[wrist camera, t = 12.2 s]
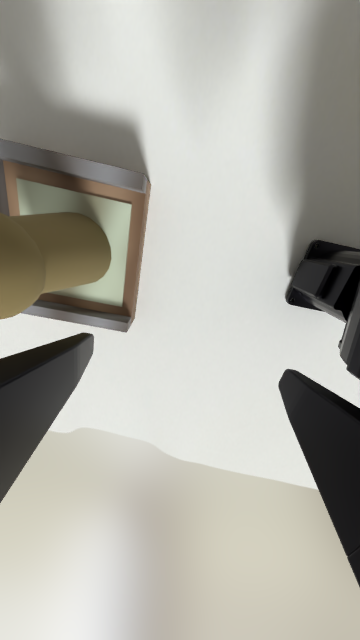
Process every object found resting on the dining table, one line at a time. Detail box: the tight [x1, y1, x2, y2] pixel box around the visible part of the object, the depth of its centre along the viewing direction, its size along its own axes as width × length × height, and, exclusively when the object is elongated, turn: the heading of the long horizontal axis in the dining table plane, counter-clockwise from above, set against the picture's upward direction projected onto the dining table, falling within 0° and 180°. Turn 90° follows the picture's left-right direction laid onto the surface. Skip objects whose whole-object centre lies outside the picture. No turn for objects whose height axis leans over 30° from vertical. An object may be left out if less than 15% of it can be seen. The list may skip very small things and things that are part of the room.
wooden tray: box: [0, 139, 151, 332], centre depth 18 cm, size 12×13×4 cm
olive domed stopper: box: [0, 212, 111, 319], centre depth 12 cm, size 6×6×11 cm
